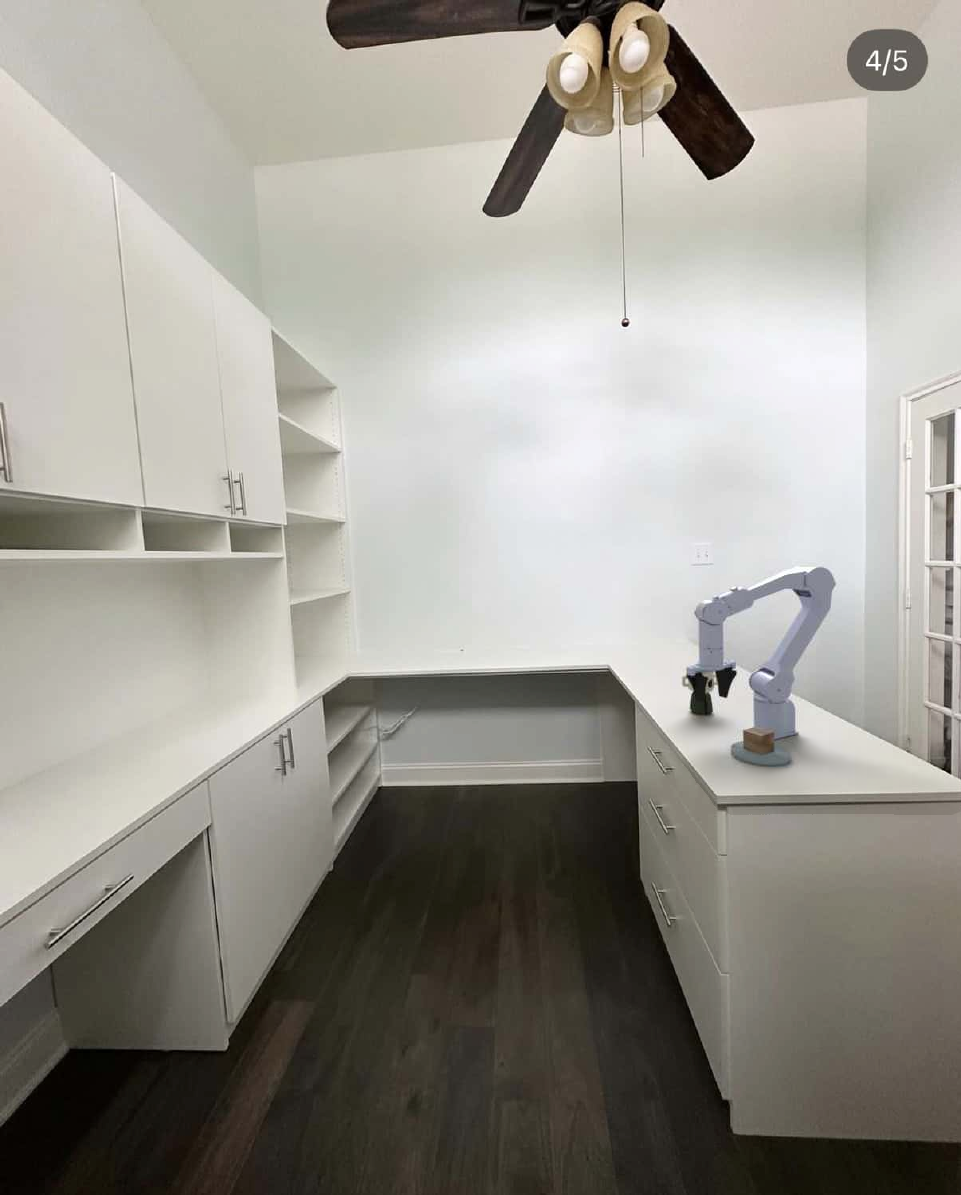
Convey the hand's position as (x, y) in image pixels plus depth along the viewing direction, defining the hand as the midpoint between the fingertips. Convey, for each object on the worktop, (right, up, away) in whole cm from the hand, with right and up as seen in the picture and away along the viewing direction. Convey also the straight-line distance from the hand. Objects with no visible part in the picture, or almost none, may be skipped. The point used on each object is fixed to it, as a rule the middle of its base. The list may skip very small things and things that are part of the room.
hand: (711, 699), depth 129 cm
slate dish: (+5, -10, -14) cm, 18 cm away
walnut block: (+5, -9, -13) cm, 17 cm away
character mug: (+6, -8, +19) cm, 21 cm away
